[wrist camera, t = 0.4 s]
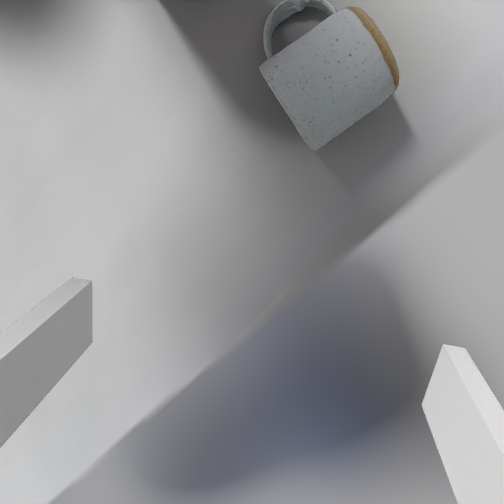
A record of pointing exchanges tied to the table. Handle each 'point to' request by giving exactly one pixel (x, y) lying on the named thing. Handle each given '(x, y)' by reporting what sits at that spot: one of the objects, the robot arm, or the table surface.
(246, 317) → the table surface
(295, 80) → the ceramic mug
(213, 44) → the table surface
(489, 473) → the robot arm
